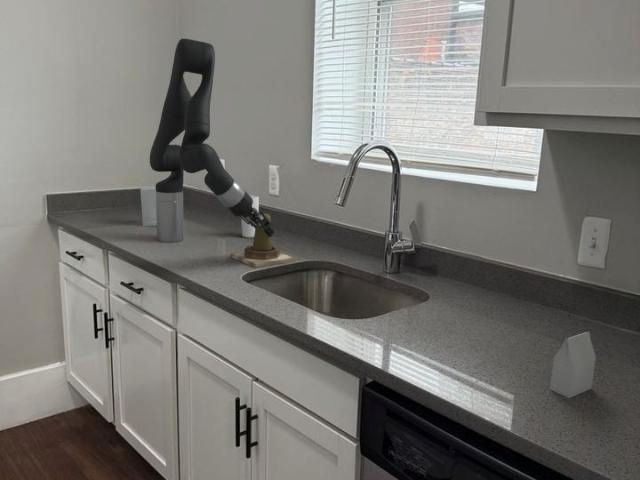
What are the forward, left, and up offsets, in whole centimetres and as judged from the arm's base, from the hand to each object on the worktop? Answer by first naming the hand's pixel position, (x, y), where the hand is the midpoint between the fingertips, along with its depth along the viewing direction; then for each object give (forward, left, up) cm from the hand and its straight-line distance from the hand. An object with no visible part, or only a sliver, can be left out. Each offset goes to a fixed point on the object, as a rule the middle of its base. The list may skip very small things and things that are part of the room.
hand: (267, 232), depth 182 cm
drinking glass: (-31, +12, -9) cm, 34 cm away
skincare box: (-68, -10, -9) cm, 69 cm away
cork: (0, -2, -5) cm, 5 cm away
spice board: (0, -2, -8) cm, 8 cm away
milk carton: (+104, -4, -9) cm, 104 cm away
